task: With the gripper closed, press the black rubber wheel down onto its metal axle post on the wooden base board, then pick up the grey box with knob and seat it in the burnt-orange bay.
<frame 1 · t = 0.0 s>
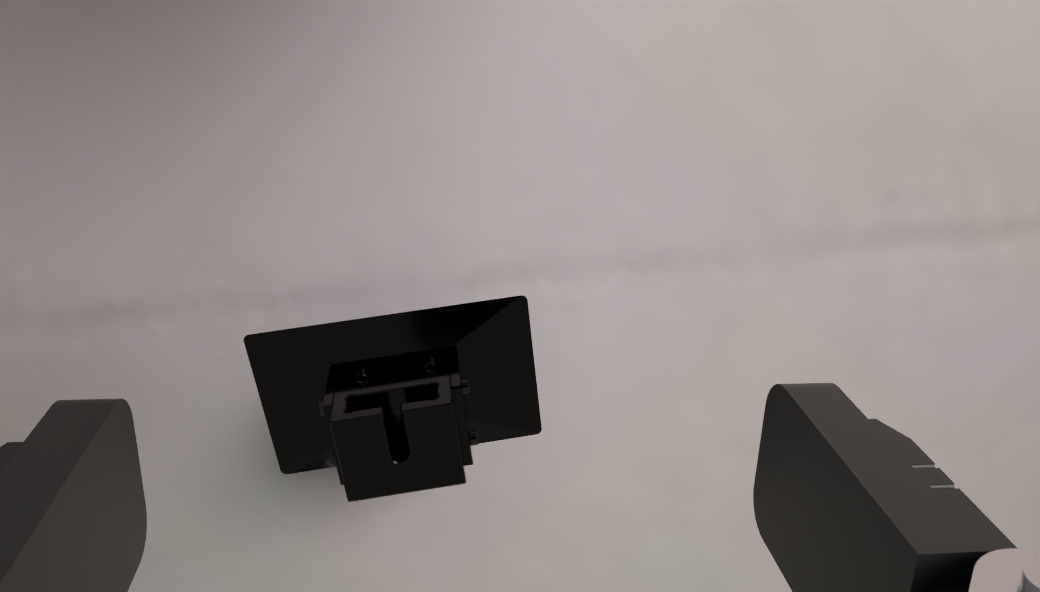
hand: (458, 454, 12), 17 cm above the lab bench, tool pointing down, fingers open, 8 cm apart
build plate: (401, 376, 31), on the lab bench
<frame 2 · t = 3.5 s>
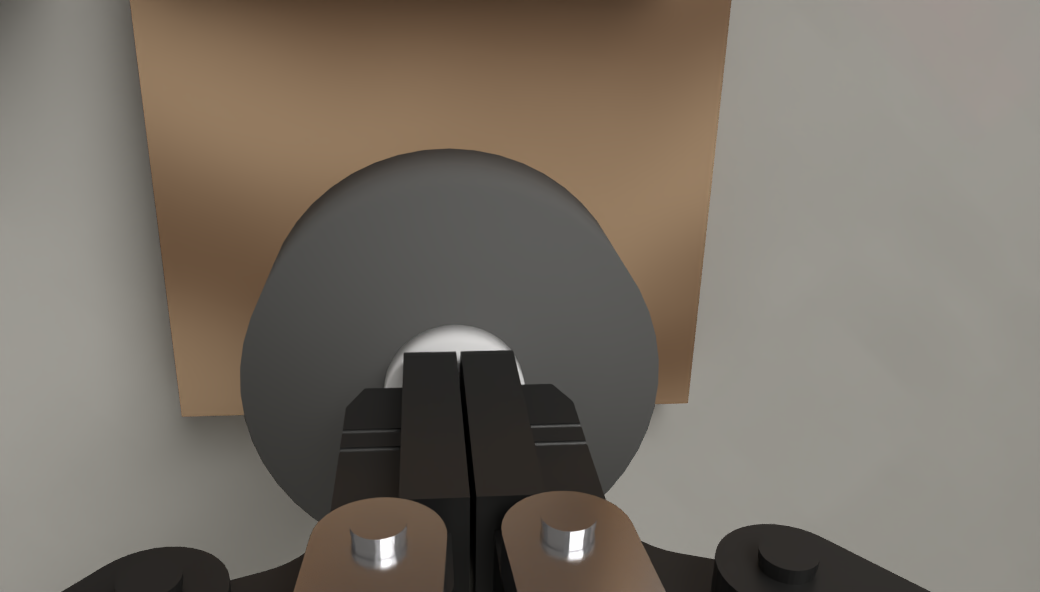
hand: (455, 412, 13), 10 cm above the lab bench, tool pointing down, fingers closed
wheel: (452, 363, 14), point 8 cm above the lab bench, slide at -0.2 cm, touching gripper
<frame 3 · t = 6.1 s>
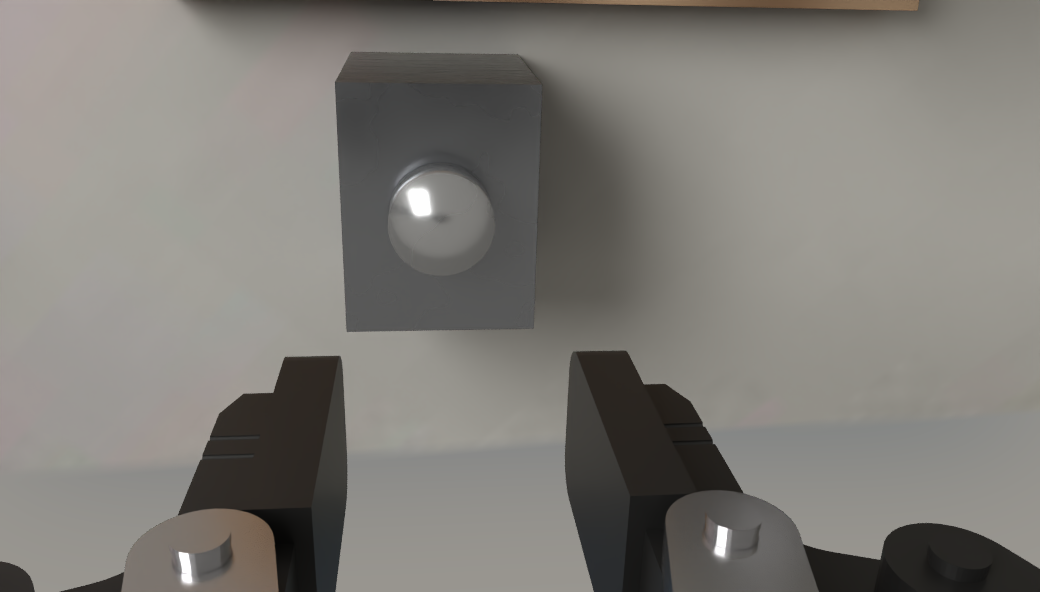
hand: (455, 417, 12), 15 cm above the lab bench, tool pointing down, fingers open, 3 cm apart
grey box with knob: (435, 159, 27), on the lab bench
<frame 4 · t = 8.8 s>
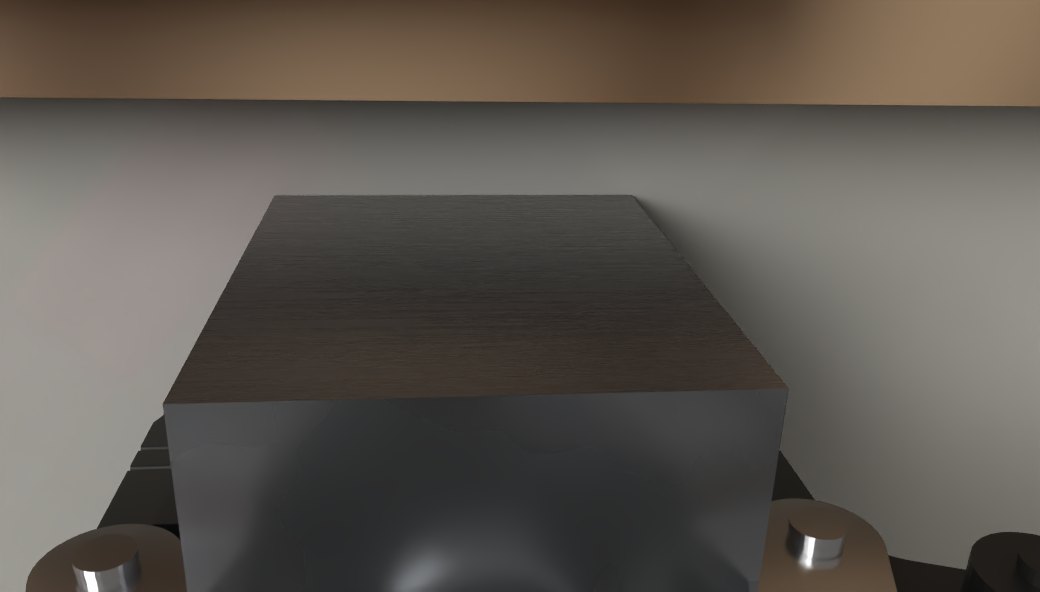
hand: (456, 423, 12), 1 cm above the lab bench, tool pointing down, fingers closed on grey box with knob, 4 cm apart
grey box with knob: (456, 401, 13), on the lab bench, touching gripper
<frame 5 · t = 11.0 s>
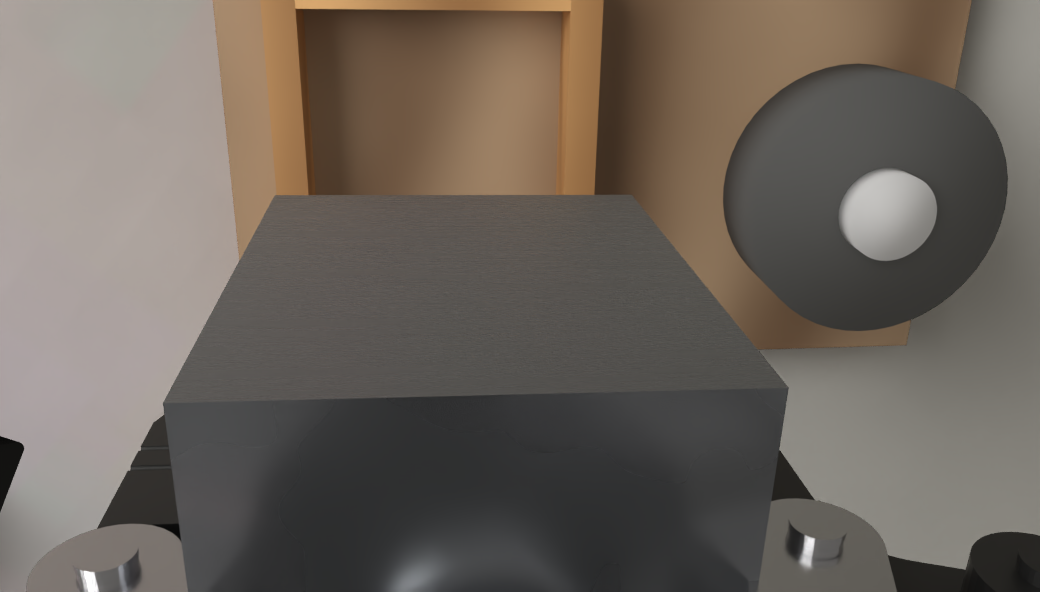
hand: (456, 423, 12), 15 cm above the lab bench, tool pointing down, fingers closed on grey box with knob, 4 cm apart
wooden base board: (590, 146, 27), on the lab bench
grey box with knob: (456, 401, 13), point 15 cm above the lab bench, touching gripper
wheel: (865, 201, 22), point 6 cm above the lab bench, slide at -2.3 cm
when the fingers open (4 cm above the lab bench, at t = 13.5 s): grey box with knob drops 2 cm, resting on wooden base board.
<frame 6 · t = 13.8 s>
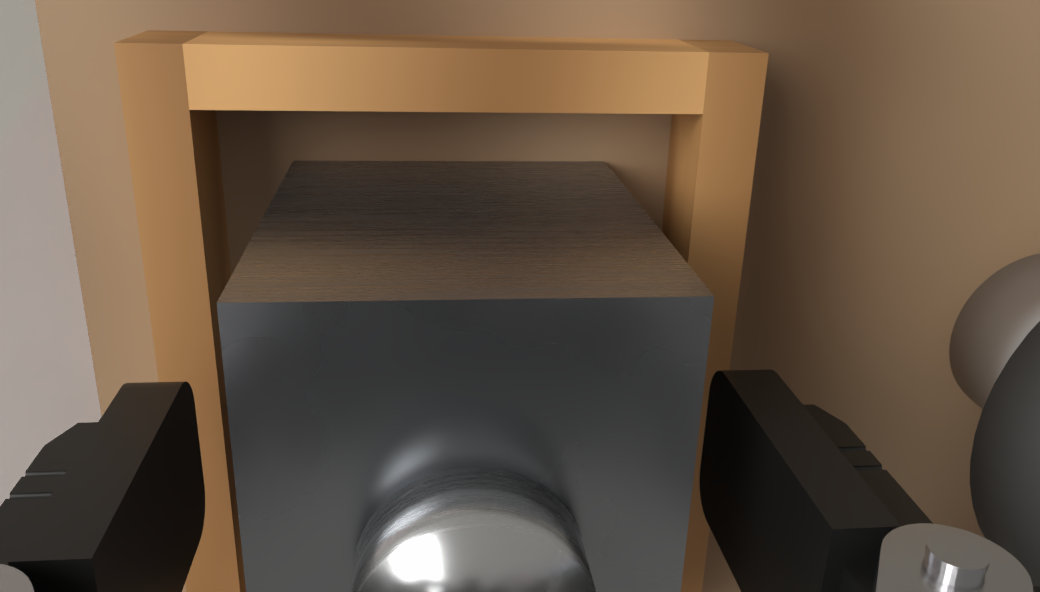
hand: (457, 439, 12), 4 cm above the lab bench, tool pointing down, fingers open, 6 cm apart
wooden base board: (697, 306, 16), on the lab bench
grey box with knob: (451, 345, 15), point 1 cm above the lab bench, touching wooden base board
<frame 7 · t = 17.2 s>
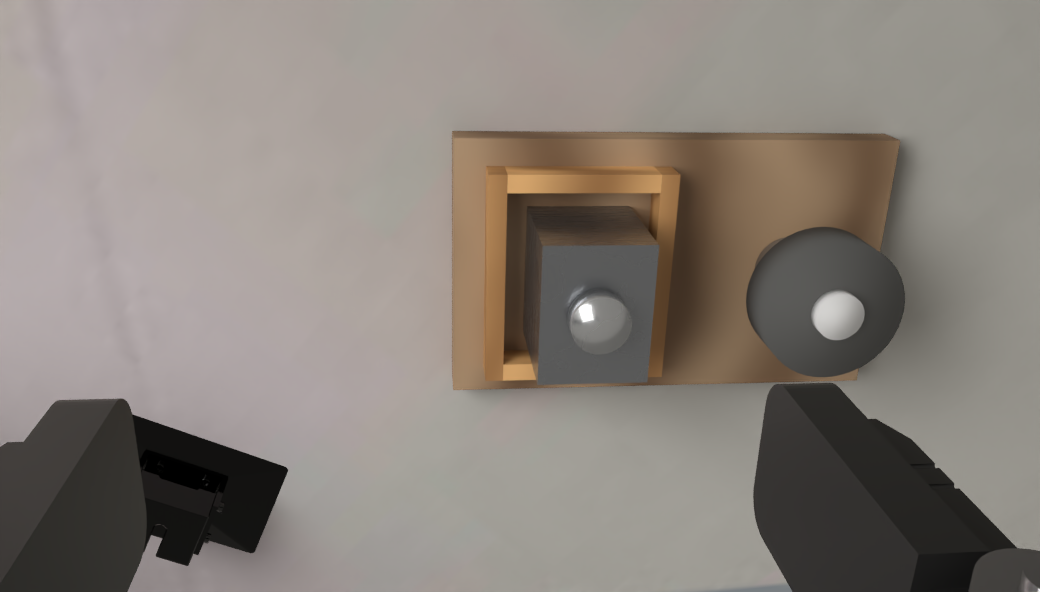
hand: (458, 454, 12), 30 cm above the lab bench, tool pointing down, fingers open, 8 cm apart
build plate: (183, 473, 46), on the lab bench
wooden base board: (662, 257, 44), on the lab bench
grey box with knob: (574, 269, 42), point 1 cm above the lab bench, touching wooden base board
wheel: (826, 304, 38), point 6 cm above the lab bench, slide at -2.3 cm
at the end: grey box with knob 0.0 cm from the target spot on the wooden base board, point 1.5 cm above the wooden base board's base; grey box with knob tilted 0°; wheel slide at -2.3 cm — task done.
